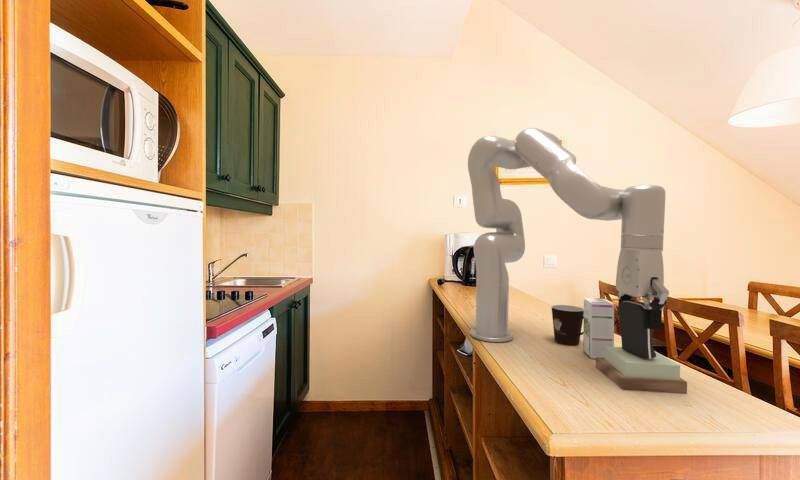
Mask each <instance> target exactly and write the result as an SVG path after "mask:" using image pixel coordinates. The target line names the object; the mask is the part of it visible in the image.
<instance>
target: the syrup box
mask: <svg viewBox="0 0 800 480" xmlns="http://www.w3.org/2000/svg"><path fill="white" fill-rule="evenodd" d="M583 309H584V315H583V317H584V319H583V331H582V332H583V335H582V337H583V341H582V344H583V346H582V347H583V349H582V350H583V352H584V353H585V354H586V355H587V356H588V358H590V359H595V360H596V357H602V358H604V346H606V347H615V346H614V345H615V303H614V302H612V301H610V300H608V299H605V298H598V297H597V298H596V297H587V298H586V297H585V298H583Z"/></svg>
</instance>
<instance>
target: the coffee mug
mask: <svg viewBox="0 0 800 480" xmlns="http://www.w3.org/2000/svg"><path fill="white" fill-rule="evenodd" d="M551 314H552V315H551V316H552V318H551V319H552V324H553V336H554V342H555V343H557V344H559V345H564V346H570V347H571V346H572V347H573V346H575V347H576V346H579V345H580V340H581V336H583V332H584V331H582V329H583V323H584V307H580V306H576V305H569V304H568V305H567V304H555V305H554V304H553V305H551Z"/></svg>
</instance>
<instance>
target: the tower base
mask: <svg viewBox="0 0 800 480" xmlns="http://www.w3.org/2000/svg"><path fill="white" fill-rule="evenodd" d="M595 368H597V370H599V371H600V372H601V374H603V375H604V376H605V377H607V378H608V379H609V380H610V381H611V382H613V383H614V384H615V385H616V386H617V387H619V388H620V389H621V390H622V391H629V392H630V391H631V392H632V391H634V392H648V393H649V392H651V393H653V392H654V393H664V394H665V393H668V394H669V393H670V394H684V395H685V394H688V381H686V380H684V379H683V378H682V377H680V380H665V379H648V378H632V377H625V376H624V375H623V374H622V373H620V372H619V371H618V370H617V369H615V368H614V367H613V366H612V365H611V364H609V363H608V362H607V361H606V360H604V358H602V357H596V359H595Z"/></svg>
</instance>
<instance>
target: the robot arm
mask: <svg viewBox="0 0 800 480" xmlns="http://www.w3.org/2000/svg"><path fill="white" fill-rule="evenodd" d="M559 139H560V138H558V137H557V136H556V135H555V134H553V133H551V132H548V131H545V130H542V129H540V128H537V127H536V128H535V127H530V128H529V127H528V128H525V129H523V130H522V131H520V132H519V133H518V134H517V135H516V137H515V139H514V140H510V139H507V138H503V137H500V136H497V135H485V136H482V137H480V138H479V139H477V140H476V141H475V142H474V143H473V145H472V146H471V148H470V151H469V153H468V157H467V170H468V176H469V180H470V184H471V193H472V194H471V195H472V203H473V212H474V213H473V214H474V218H475V222H476V224H477V225H478V226H479V227H481V228H483V229H484V228H485V229H495V232H494V231H493V232H492V231H491V232H485V233H482V234H481V235H479V236H478V237H477V238H476V239H475V241H474V245H473V254H474V255H473V257H474V263H475V270H476V271H475V272H476V276H475V277H476V278H475V279H476V283H475V285H476V289H475V290H476V291H475V293H476V295H475V307H476V308H475V327H474V328H472V329H471V330H470V336H471V337H472V338H474V339H475V340H476V339H477V340H480V341H482V342H483V341H484V342H491V343H505V342H510V341H512V340H513V339H514V333H513V332H512V331H510V330H509V299H510V298H509V297H510V296H509V295H510V293H509V291H510V279H509V278H510V277H509V272H508V269H507V265H506V264H511V263H515V262H517V261H519V260H520V259H522V257H524V254H525V250H526V242H525V240H526V239H525V232H524V231H525V230H524V225H523V218H522V211H521V210H520V208H519V206H518V205H517V203H516V202H514V201H513V200H511V199H507V198H503V197H502V190H501V184H500V183H501V182H500V180H499V177H498V175H497V173H496V172H495V169H494V167H497V168H502V169H504V170H505V169H506V170H517V169H523V168H525V169H526V168H530V167H531V168H532V169H534V170H535V171H536V172H537V173H539V175H541V176H542V178H544V179H545V180H546V181H547V182H548V184H549V186H550V187H551V189H552V191H553V192H554V194H556V196H557V197H558V198H559V199H560V200H561V201H563V203H565V204H566V205H567V206H568V207H569V208H570V209H572V210H573V211H574V212H575V213H577V215H579V216H581V217H583V218H586V219H588V220H595V221H597V220H598V221H607V222H608V221H609V222H610V221H619V220H620V221H621V231H620V250H619V251H620V252H619V255H618V260H617V266H616V275H615V277H616V278H615V290H617V292H618V293H617V299H618V307H617V308H618V309H617V316H618V317H619V304H620V303H621V302H623V301H636V300H635V299H633V298H636V299H639V298H641V299H642V302H643V303H644V304H645V306H646V309H644V310H643V328H645V329H653V330H661V329H662V318H663V317H662V315H663V312H662V311H664V309H665V305H666V303H667V299H668V297H669V295H670V291H669V289H668V288H667V287H666V286H665V285H664V284H665V277H664V276H665V272H664V270H665V269H664V257H663V256H664V255H663V251H664V234H665V213H666V211H665V210H666V208H665V207H666V190H665V188H664V187H663V186H660V185H656V184H655V185H653V184H645V185H644V184H641V185H634V186H629V187H627V188H625V189H617V188H613V187H612V188H611V187H607V186H604V185H602V186H601V185H600V184H598V182H596V181H595V180H593V178H591V177H589V176H588V175H587V174H585V172H583V171H582V170H581V169H580V168H579V167H578V166H577V165H576V163H577V157H576V156H575V155H574V154H573V153H572V152H571V151H570V150H568V149H567V148H565V147H564V146H563V145H562V144H561V141H560V140H559Z"/></svg>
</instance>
